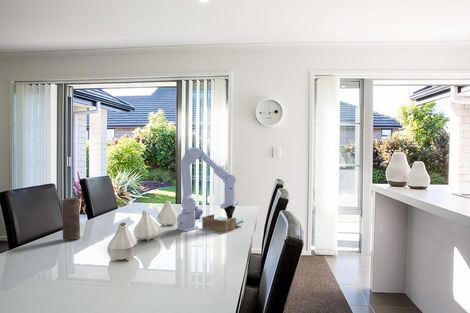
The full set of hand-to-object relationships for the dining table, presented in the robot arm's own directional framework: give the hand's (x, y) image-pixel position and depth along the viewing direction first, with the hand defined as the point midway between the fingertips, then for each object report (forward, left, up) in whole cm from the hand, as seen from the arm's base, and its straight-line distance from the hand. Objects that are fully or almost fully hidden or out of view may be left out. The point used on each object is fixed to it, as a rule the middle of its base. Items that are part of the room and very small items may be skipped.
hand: (229, 219), depth 174 cm
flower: (+1, +27, -3) cm, 27 cm away
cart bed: (-10, 0, -3) cm, 10 cm away
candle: (-65, +47, -3) cm, 80 cm away
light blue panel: (-5, 0, 0) cm, 5 cm away
